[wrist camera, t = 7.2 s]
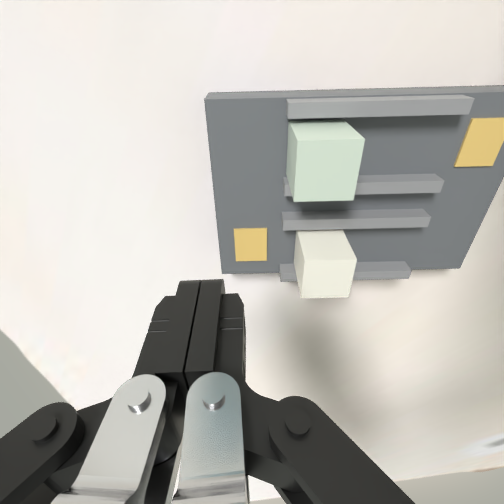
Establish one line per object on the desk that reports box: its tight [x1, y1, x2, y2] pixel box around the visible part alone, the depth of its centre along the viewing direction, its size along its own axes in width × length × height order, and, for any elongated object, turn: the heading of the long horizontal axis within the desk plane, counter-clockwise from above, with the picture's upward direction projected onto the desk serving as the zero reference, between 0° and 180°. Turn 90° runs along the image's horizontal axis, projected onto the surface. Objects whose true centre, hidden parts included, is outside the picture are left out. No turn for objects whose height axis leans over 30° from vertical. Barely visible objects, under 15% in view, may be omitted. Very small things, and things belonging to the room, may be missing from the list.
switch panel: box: [204, 85, 504, 282], centre depth 27 cm, size 16×24×4 cm, turn 91°
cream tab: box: [294, 229, 357, 299], centre depth 27 cm, size 4×4×5 cm
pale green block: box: [286, 120, 365, 202], centre depth 21 cm, size 4×4×5 cm
